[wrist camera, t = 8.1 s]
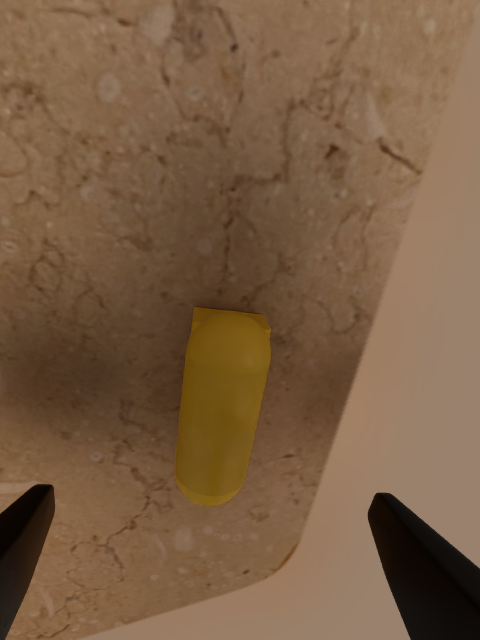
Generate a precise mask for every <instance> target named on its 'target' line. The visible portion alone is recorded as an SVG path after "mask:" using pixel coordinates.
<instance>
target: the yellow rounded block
mask: <svg viewBox="0 0 480 640" xmlns="http://www.w3.org/2000/svg"><path fill="white" fill-rule="evenodd" d="M270 333H271V329H270V327H269V325H268V323H267V321H266V319H265V317H264V315H263V314H254V313H245V312H237V311H227V310H217V309H208V308H199V307H194V308H193V317H192V326H191V335H190V337H189V340H188V344H187V349H186V358H185V367H184V377H183V386H182V396H181V405H180V414H179V424H178V433H177V443H176V452H175V462H174V472H175V479H176V482H177V485H178V487H179V489H180V490H181V492H182V493H183V494H184V495H185V497H186V498H188V499H189V500H190V501H191V502H193V503H195V504H198V505H201V506H208V507H211V506H218V505H222V504H224V503H226V502H227V501H229V500H230V499H232V498H233V497H234V496H235V495H236V494H237V493H238V491H239V490H240V489H241V487H242V485H243V483H244V481H245V478H246V474H247V470H248V465H249V460H250V455H251V451H252V446H253V441H254V436H255V432H256V427H257V422H258V417H259V413H260V408H261V403H262V398H263V394H264V389H265V384H266V379H267V375H268V370H269V365H270V359H271V347H270V342H269V338H270Z"/></svg>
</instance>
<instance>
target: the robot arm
mask: <svg viewBox="0 0 480 640" xmlns="http://www.w3.org/2000/svg"><path fill="white" fill-rule="evenodd" d="M54 512H55V498H54V487H53V486H52V485H50V484H37V485H34V486H33V487H31V488H30V489H29V490H28V491H27V492H25V493H24V494H23V495H22V496H21V497H20V498H18V499H17V500H16V501H15V502H14V503H12V504H11V505H10V506H9V507H8V508H7V509H5V510H4V511H3V512H2V513H1V514H0V640H5V638H6V636H7V634H8V632H9V629H10V627H11V625H12V623H13V621H14V618H15V616H16V614H17V612H18V610H19V607H20V605H21V603H22V601H23V599H24V596H25V594H26V592H27V589H28V587H29V584H30V582H31V579H32V576H33V574H34V571H35V568H36V565H37V562H38V559H39V556H40V554H41V551H42V548H43V545H44V542H45V539H46V537H47V534H48V531H49V528H50V525H51V522H52V520H53V516H54ZM368 521H369V524H370V527H371V531H372V534H373V537H374V541H375V544H376V547H377V550H378V554H379V557H380V560H381V563H382V567H383V569H384V573H385V576H386V579H387V581H388V584H389V587H390V589H391V592H392V594H393V597H394V599H395V602H396V604H397V607H398V609H399V612H400V614H401V617H402V619H403V621H404V624H405V627H406V629H407V632H408V634H409V637H410V639H411V640H480V568H478V567H477V566H476V565H475V564H474V563H472V562H471V561H470V560H469V559H468V558H467V557H465V556H464V555H463V554H462V553H461V552H460V551H458V550H457V549H456V548H455V547H453V546H452V545H451V544H450V543H449V542H448V541H447V540H445V539H444V538H443V537H442V536H440V535H439V534H438V533H437V532H436V531H435V530H433V529H432V528H431V527H430V526H429V525H428V524H426V523H425V522H424V521H423V520H422V519H420V518H419V517H418V516H417V515H416V514H415V513H413V512H412V511H411V510H410V509H409V508H407V507H406V506H405V505H404V504H403V503H402V502H400V501H399V500H398V499H397V498H395V497H394V496H393V495H392V494H390V493H376V494H375V496H374V499H373V501H372V503H371V506H370V508H369V510H368Z"/></svg>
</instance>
